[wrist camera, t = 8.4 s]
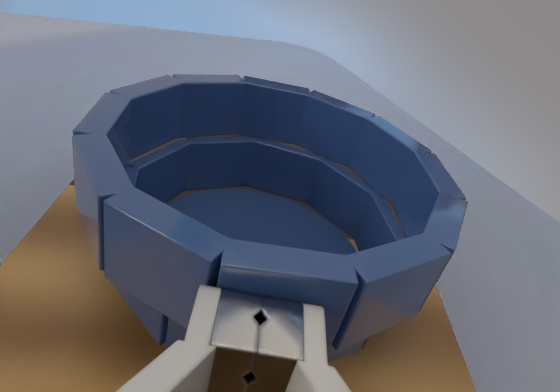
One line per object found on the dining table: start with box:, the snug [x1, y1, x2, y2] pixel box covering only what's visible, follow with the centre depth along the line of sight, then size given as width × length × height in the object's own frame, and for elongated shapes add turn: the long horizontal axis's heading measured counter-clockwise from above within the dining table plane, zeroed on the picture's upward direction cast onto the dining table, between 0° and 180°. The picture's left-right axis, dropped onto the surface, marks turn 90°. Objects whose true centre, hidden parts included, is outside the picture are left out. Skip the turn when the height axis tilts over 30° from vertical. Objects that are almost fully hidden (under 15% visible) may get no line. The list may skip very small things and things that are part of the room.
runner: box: [0, 185, 476, 392], centre depth 14 cm, size 18×18×1 cm
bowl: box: [72, 74, 468, 363], centre depth 17 cm, size 13×13×6 cm
